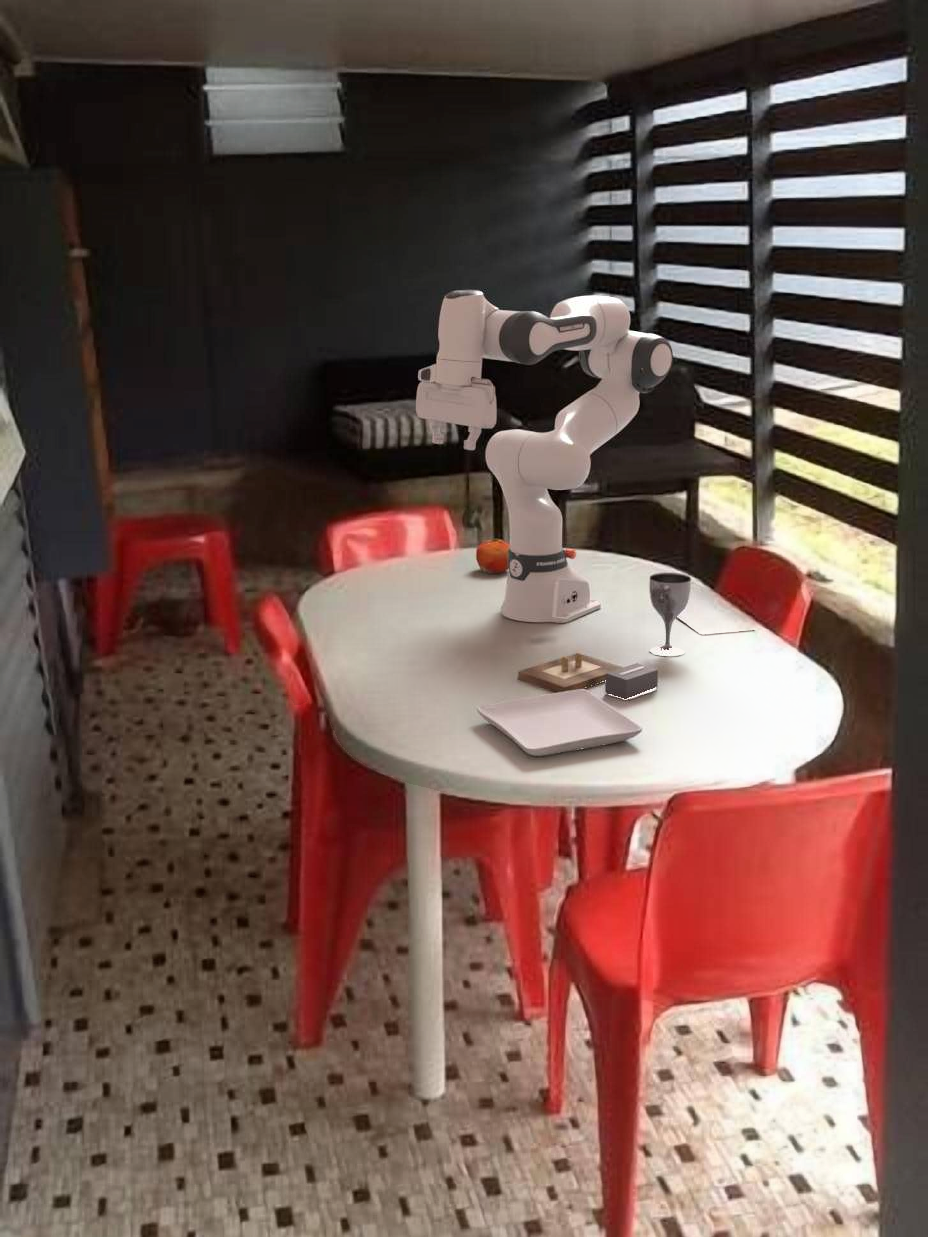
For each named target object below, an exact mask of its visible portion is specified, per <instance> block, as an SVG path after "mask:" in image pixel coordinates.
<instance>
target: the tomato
mask: <svg viewBox="0 0 928 1237" xmlns="http://www.w3.org/2000/svg"><path fill="white" fill-rule="evenodd" d="M509 548H510V543H508V542H506V541H504V540H502V539H499V538H492V539H488V540H485V541H483V542H482V543H480V544H479V545H478V546H477V548H476V551H475V552H476V555H475V559H476V563H477V564H478V567H479V568H480V569H481V570H482V571H483V572H485V573H489V574H500V573H503V572H506V571H508V570H509V568H508V558H507V555H508V549H509Z"/></svg>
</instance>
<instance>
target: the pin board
mask: <svg viewBox="0 0 928 1237" xmlns="http://www.w3.org/2000/svg"><path fill="white" fill-rule="evenodd" d="M623 667H624V666H620V665H617V664H614V663H611V662H608V661H605V660H602V659H599V658H595V657H592V656H589V655H586V654H583V653H582V652H576V653H573V654H570V655H567V656H566V655H565V656H562V657H560V658H557V659H554V660H551V661H550V660H549V661H547V662H544V663H540V664H538V665H534V666H531V667H528V668H524V669H521V670H517V673H518V674H517V679H518V680H521V681H524V682H526V683H529V684H531V683H532V684H531V685H535V686H538V687H540V688H542V689H546V690H548V689H549V691H551V690H552V691H551V692H553V693H557V692H565V691H572V690H578V689H584V688H585V687H588V688H591V687H592V686H591V685H594V686H596V685H595V684H597V683H600V682H602V681H605V680H606V673H608V672H611V671H614V670H617V669H620V668H623ZM600 684H601V683H600ZM597 685H598V684H597ZM590 686H591V687H590ZM585 689H586V688H585Z"/></svg>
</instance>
